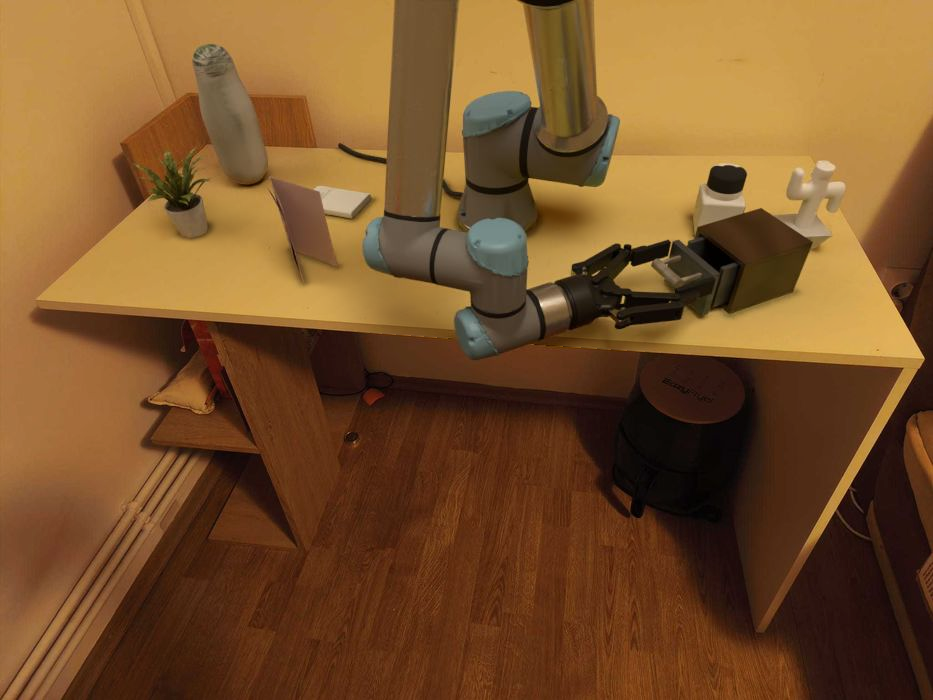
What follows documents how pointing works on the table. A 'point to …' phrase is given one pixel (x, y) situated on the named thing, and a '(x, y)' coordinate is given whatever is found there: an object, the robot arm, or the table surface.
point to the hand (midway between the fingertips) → (689, 265)
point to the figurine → (813, 201)
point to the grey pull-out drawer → (699, 270)
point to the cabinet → (759, 255)
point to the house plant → (180, 195)
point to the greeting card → (303, 221)
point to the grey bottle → (229, 116)
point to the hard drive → (342, 201)
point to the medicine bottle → (720, 195)
